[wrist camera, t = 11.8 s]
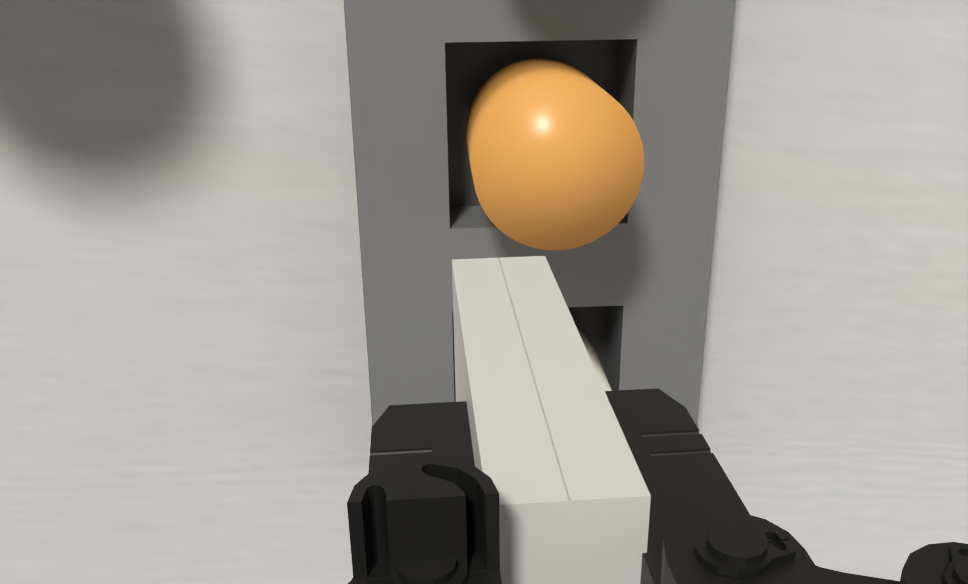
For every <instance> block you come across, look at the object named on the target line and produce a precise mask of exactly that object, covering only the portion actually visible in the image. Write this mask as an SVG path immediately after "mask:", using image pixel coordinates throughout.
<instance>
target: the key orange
mask: <svg viewBox="0 0 968 584" xmlns="http://www.w3.org/2000/svg"><path fill="white" fill-rule="evenodd" d="M465 139H466V146H467V151H468V157H469V162H470V167H471V172H472V177H473V182H474V186H475V191H476V194H477V197H478V200H479V202H480V204H481V206H482V208H483V210H484V212H485V213H486V215H487V216H488V218H489V219H490V220H491V222H492V223H493V224H494V225H495V226H496V227H497V228H498V229H499V230H500V231H502V232H503V233H504V234H505V235H507V236H508V237H510V238H512V239H513V240H515V241H517V242H519V243H521V244H524V245H526V246H530V247H533V248H537V249H543V250H566V249H572V248H576V247H580V246H583V245H586V244H589V243H591V242H593V241H595V240H597V239H599V238H600V237H602V236H603V235H605V234H606V233H608V232H609V231H610V230H612V229H613V228H614V227H615V226H616V225H617V224H618V223H619V222H620V221H621V220H622V219H623V218H624V217H625V215H626V214H627V213H628V211H629V210H630V208H631V207H632V205H633V203H634V201H635V199H636V197H637V195H638V192H639V190H640V187H641V183H642V179H643V172H644V151H643V144H642V141H641V137H640V134H639V131H638V129H637V127H636V125H635V123H634V121H633V120H632V118H631V116H630V115H629V113H628V112H627V111H626V110H625V109H624V107H623V106H622V105H621V104H620V103H619V102H617V101H616V100H615V99H614V98H613V97H612V96H611V95H609V94H608V93H607V92H606V91H605V90H603V89H602V88H601V87H600V86H599V85H597V84H596V83H595V82H594V81H593V80H591V79H590V78H589V77H588V76H587V75H586V74H584V73H583V72H582V71H580V70H579V69H577V68H576V67H574V66H572V65H570V64H568V63H565V62H562V61H559V60H555V59H550V58H529V59H524V60H520V61H517V62H514V63H511V64H509V65H507V66H505V67H503V68H502V69H500V70H499V71H497V72H496V73H494V74H493V75H492V76H491V77H490V78H489V79H488V80H486V82H485V83H484V84H483V85H482V86H481V88H480V89H479V90H478V92H477V93H476V95H475V97H474V99H473V101H472V103H471V105H470V108H469V111H468V114H467V119H466V125H465Z"/></svg>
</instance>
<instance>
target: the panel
mask: <svg viewBox="0 0 968 584" xmlns="http://www.w3.org/2000/svg"><path fill="white" fill-rule="evenodd" d="M344 11H345V26H346V40H347V55H348V70H349V85H350V100H351V115H352V129H353V144H354V159H355V174H356V189H357V203H358V218H359V233H360V248H361V263H362V278H363V292H364V307H365V322H366V337H367V352H368V367H369V381H370V396H371V411H372V426H373V425H374V424H375V422H376V421H377V420H378V419H379V417H380V416H381V415H382V414H383V413H384V411H385V410H386V409H387V408H388V406H389V405H403V404H422V403H441V402H456V389H455V354H454V319H453V285H452V260H454V259H478V258H503V257H527V256H545V257H546V259H547V262H548V264H549V266H550V268H551V271H552V273H553V275H554V277H555V280H556V282H557V284H558V287H559V289H560V291H561V293H562V296H563V298H564V300H565V302H566V305H567V307H568V309H569V311H570V314H571V316H572V318H573V321H574V323H575V325H576V327H577V328H578V329H580V330H581V331H582V332H583V333H584V334H585V335H586V336H587V337H588V339H589V340H590V342H591V343H592V345H593V347H594V349H595V351H596V353H597V356H598V358H599V361H600V363H601V366H602V368H603V370H604V373H605V375H606V378H607V380H608V382H609V385H610V387H611V390H612V391H617V390H637V389H656V388H658V389H660V390H661V391H663V392H664V393H666V394H667V395H669V396H670V397H672V398H673V399H674V400H676V401H677V402H679V403H680V404H682V405H683V406H685V407H686V409H687V411H688V412H689V414H690V416H691V417H692V419H693V421H694V422H695V424H696V426H697V417H698V406H699V395H700V384H701V373H702V362H703V351H704V340H705V329H706V318H707V307H708V296H709V285H710V274H711V263H712V252H713V241H714V230H715V219H716V208H717V197H718V186H719V175H720V164H721V154H722V143H723V132H724V121H725V110H726V99H727V88H728V77H729V66H730V55H731V44H732V33H733V22H734V11H735V0H344ZM529 58H550V59H555V60H559V61H562V62H565V63H568V64H570V65H572V66H574V67H576V68H577V69H579V70H580V71H582V72H583V73H584V74H586V75H587V76H588V77H589V78H590V79H591V80H593V81H594V82H595V83H596V84H597V85H599V86H600V87H601V88H602V89H603V90H605V91H606V92H607V93H608V94H609V95H611V96H612V97H613V98H614V99H615V100H616V101H617V102H619V103H620V104H621V105H622V106H623V107H624V109H625V110H626V111H627V112H628V113H629V115H630V116H631V118H632V120H633V121H634V123H635V125H636V127H637V129H638V131H639V134H640V137H641V141H642V144H643V151H644V172H643V179H642V183H641V187H640V190H639V192H638V195H637V197H636V199H635V201H634V203H633V205H632V207H631V208H630V210H629V211H628V213H627V214H626V215H625V217H624V218H623V219H622V220H621V221H620V222H619V223H618V224H617V225H616V226H615V227H614V228H613V229H612V230H610V231H609V232H608V233H606V234H605V235H603V236H602V237H600V238H599V239H597V240H595V241H593V242H591V243H589V244H586V245H583V246H580V247H576V248H572V249H566V250H543V249H537V248H533V247H530V246H526V245H524V244H521V243H519V242H517V241H515V240H513V239H512V238H510V237H508V236H507V235H505V234H504V233H503V232H502V231H500V230H499V229H498V228H497V227H496V226H495V225H494V224H493V223H492V222H491V220H490V219H489V218H488V216H487V215H486V213H485V212H484V210H483V208H482V206H481V204H480V202H479V200H478V197H477V194H476V191H475V186H474V182H473V177H472V172H471V167H470V162H469V157H468V151H467V146H466V139H465V125H466V119H467V114H468V111H469V108H470V105H471V103H472V101H473V99H474V97H475V95H476V93H477V92H478V90H479V89H480V88H481V86H482V85H483V84H484V83H485V82H486V80H488V79H489V78H490V77H491V76H492V75H493V74H494V73H496V72H497V71H499V70H500V69H502V68H503V67H505V66H507V65H509V64H511V63H514V62H517V61H520V60H524V59H529Z"/></svg>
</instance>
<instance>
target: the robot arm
mask: <svg viewBox="0 0 968 584" xmlns="http://www.w3.org/2000/svg"><path fill="white" fill-rule="evenodd" d="M452 285H453V319H454V354H455V389H456V402H441V403H422V404H403V405H389V406H388V408H387V409H386V410H385V411H384V413H383V414H382V415H381V416H380V417H379V419H378V420H377V421H376V422H375V424H374V425H373V426H372V433H371V447H370V462H369V474H368V475H367V476H365V477H364V478H363V479H362V480H361V481H359V482H358V483H357V484H356V485H355V486H354V488H353V490H352V493H351V495H350V497H349V500H348V502H347V507H348V519H349V531H350V542H351V554H352V566H353V578H352V580H351V581H350V582H349V583H348V584H968V544H964V543H957V542H949V543H939V544H928V545H926V546H924V547H922V548H920V549H918V550H916V551H914V552H912V553H910V555H909V557H908V559H907V561H906V563H905V565H904V567H903V569H902V574H901V579H900V581H893V580H887V579H881V578H874V577H868V576H861V575H855V574H849V573H843V572H838V571H834V570H830V569H825V568H821V567H818V566H816V565H815V564H814V563H813V561H812V560H811V558H810V556H809V555H808V553H807V552H806V550H805V549H804V548H803V547H802V546H801V545H800V544H799V543H798V542H797V541H796V540H795V538H794V537H793V536H792V535H791V534H790V533H789V532H787V531H785V530H784V529H782V528H780V527H778V526H776V525H775V524H773V523H771V522H769V521H767V520H766V519H762V518H759V517H755V516H751V515H750V514H749V512H748V511H747V509H746V507H745V506H744V504H743V502H742V501H741V499H740V497H739V496H738V494H737V492H736V491H735V489H734V487H733V486H732V484H731V482H730V481H729V479H728V477H727V476H726V474H725V472H724V471H723V469H722V467H721V466H720V464H719V462H718V461H717V459H716V457H715V456H714V454H713V453H711V452H710V447H709V446H708V444H707V442H706V441H705V439H704V437H703V436H702V434H699V429H698V427H697V426H696V424H695V422H694V421H693V419H692V417H691V416H690V414H689V412H688V411H687V409H686V407H685V406H683V405H682V404H680V403H679V402H677V401H676V400H674V399H673V398H672V397H670V396H669V395H667V394H666V393H664V392H663V391H661V390H660V389H658V388H656V389H637V390H617V391H604V389H603V386H602V384H601V382H600V379H599V377H598V375H597V373H596V370H595V368H594V366H593V364H592V361H591V359H590V357H589V355H588V352H587V350H586V348H585V345H584V343H583V341H582V339H581V336H580V334H579V332H578V330H577V327H576V325H575V323H574V321H573V318H572V316H571V314H570V311H569V309H568V307H567V305H566V302H565V300H564V298H563V296H562V293H561V291H560V289H559V287H558V284H557V282H556V280H555V277H554V275H553V273H552V271H551V268H550V266H549V264H548V262H547V259H546V257H545V256H527V257H503V258H478V259H454V260H452Z"/></svg>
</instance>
